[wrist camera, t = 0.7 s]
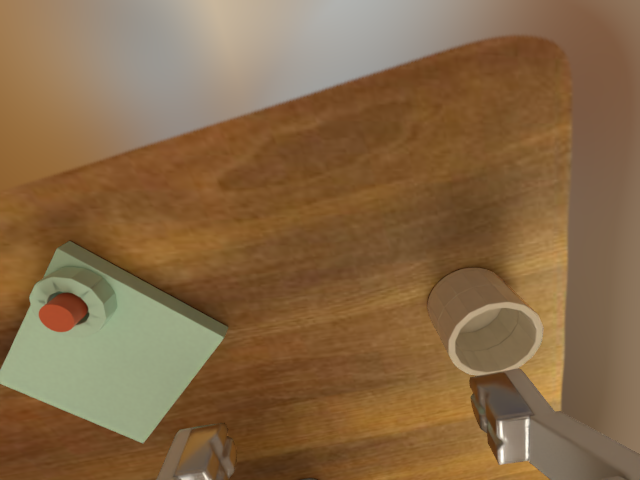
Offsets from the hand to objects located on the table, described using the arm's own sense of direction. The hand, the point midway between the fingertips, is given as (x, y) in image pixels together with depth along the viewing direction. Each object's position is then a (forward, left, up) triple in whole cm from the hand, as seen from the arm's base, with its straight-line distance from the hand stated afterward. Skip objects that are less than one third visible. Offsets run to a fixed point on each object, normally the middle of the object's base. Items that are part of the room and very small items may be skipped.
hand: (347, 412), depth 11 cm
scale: (+20, -9, -16) cm, 27 cm away
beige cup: (-2, +13, -16) cm, 21 cm away
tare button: (+15, -13, -13) cm, 24 cm away
